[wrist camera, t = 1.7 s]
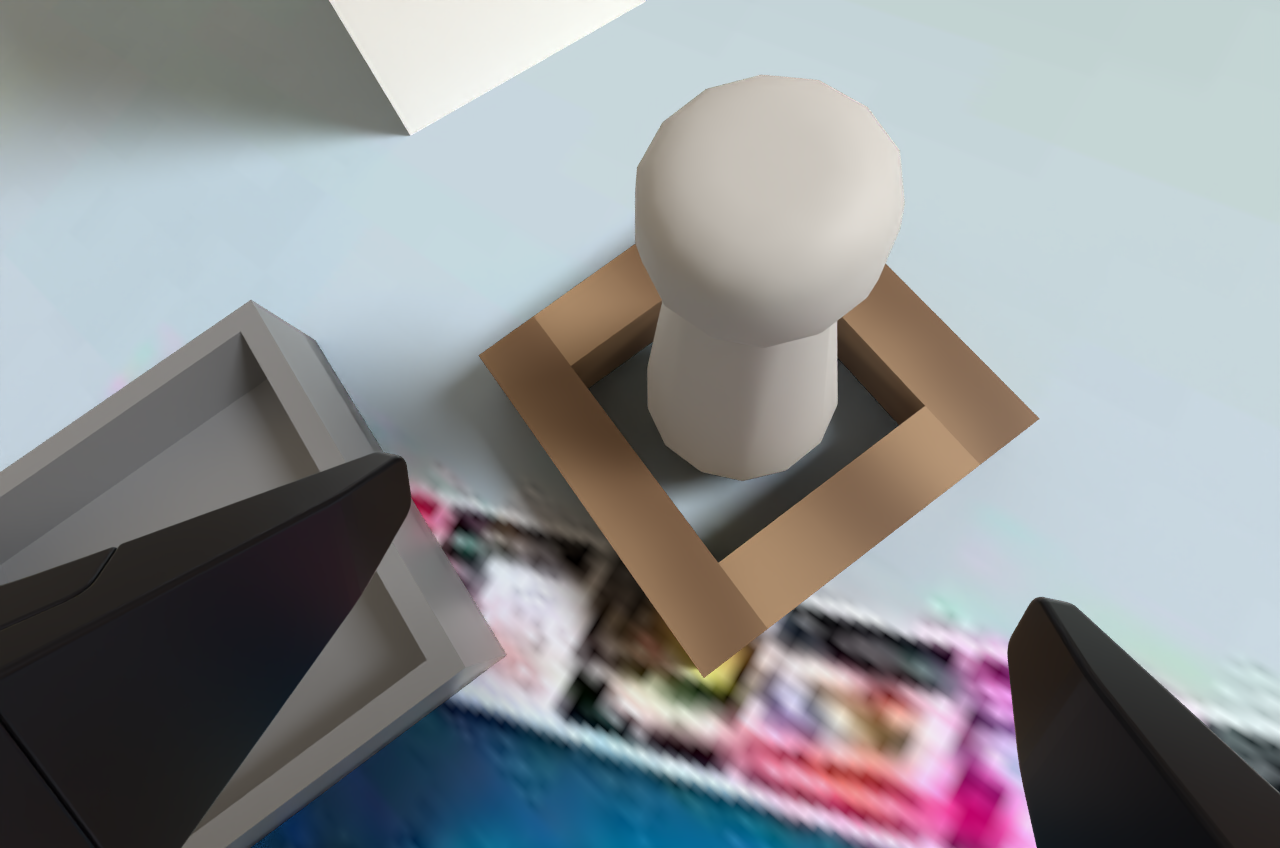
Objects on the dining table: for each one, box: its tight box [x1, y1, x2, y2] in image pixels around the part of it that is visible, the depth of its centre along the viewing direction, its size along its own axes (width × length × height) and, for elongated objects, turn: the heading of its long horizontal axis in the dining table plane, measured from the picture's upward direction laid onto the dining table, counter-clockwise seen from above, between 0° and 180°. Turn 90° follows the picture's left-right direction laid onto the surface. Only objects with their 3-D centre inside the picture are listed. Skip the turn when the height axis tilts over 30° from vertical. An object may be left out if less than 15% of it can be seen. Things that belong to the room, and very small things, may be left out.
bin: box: [0, 300, 506, 848], centre depth 20 cm, size 14×14×4 cm
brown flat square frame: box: [479, 244, 1039, 678], centre depth 20 cm, size 12×12×2 cm
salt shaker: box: [635, 75, 905, 481], centre depth 15 cm, size 6×6×13 cm
